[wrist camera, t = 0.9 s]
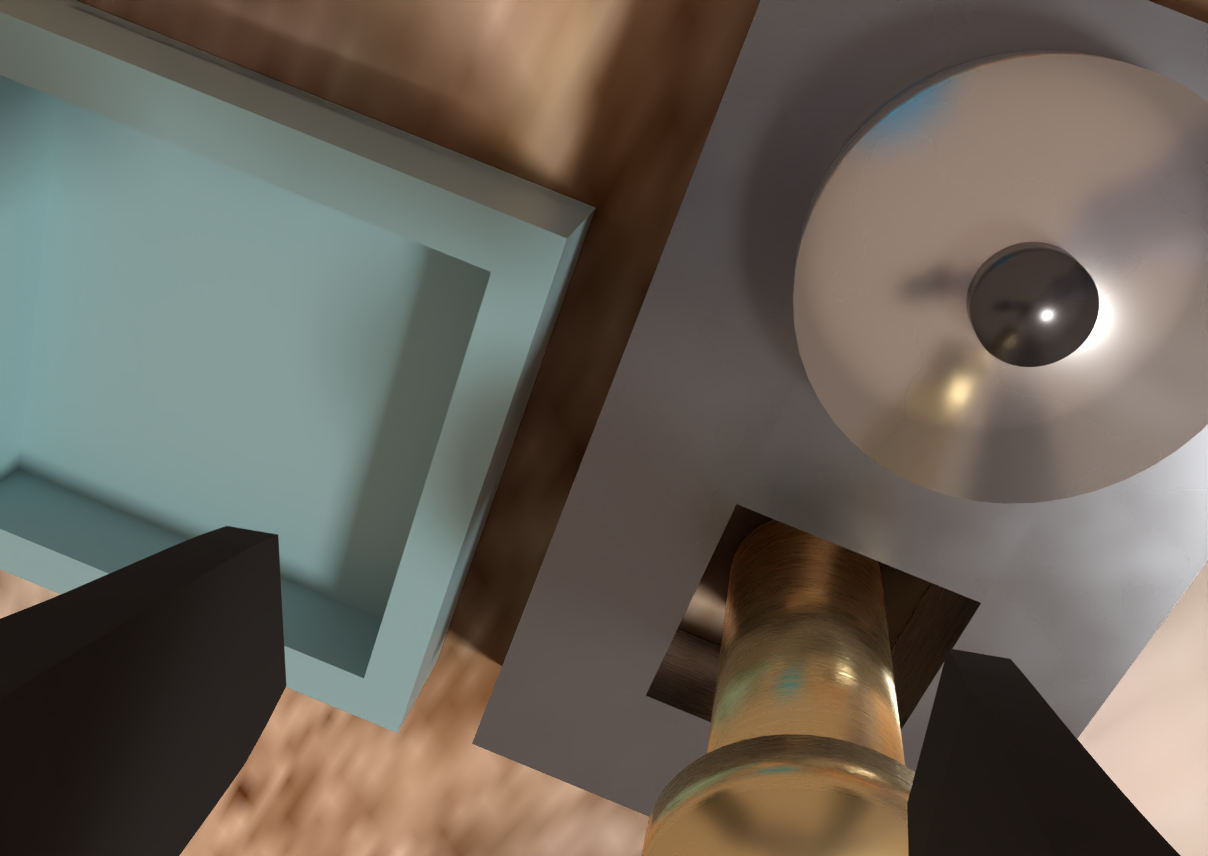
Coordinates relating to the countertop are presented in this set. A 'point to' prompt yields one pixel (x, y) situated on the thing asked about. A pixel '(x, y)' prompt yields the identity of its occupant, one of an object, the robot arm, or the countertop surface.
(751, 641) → the pin
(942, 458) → the grey flat block
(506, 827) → the countertop surface
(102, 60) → the pin tray
